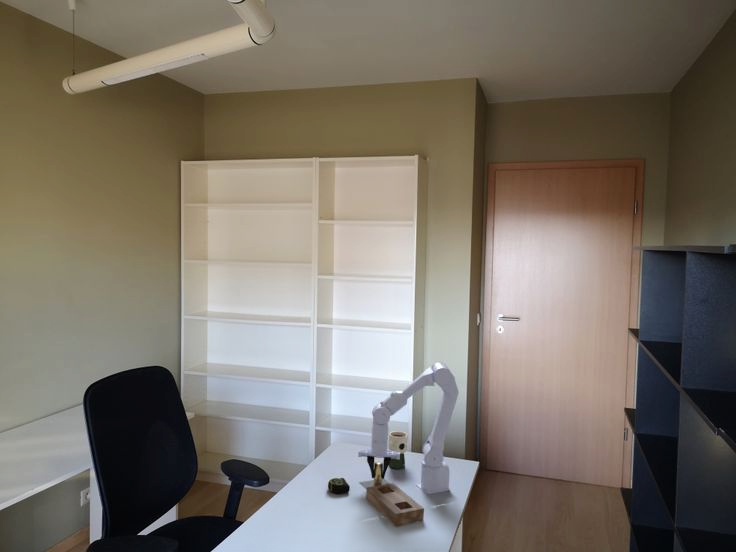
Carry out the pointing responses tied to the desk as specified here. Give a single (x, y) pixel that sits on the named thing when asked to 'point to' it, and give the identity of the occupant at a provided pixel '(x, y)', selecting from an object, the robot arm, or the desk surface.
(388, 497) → the block
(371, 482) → the rubber mat
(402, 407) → the robot arm
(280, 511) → the desk surface
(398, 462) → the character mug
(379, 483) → the brass pin
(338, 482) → the tape measure
